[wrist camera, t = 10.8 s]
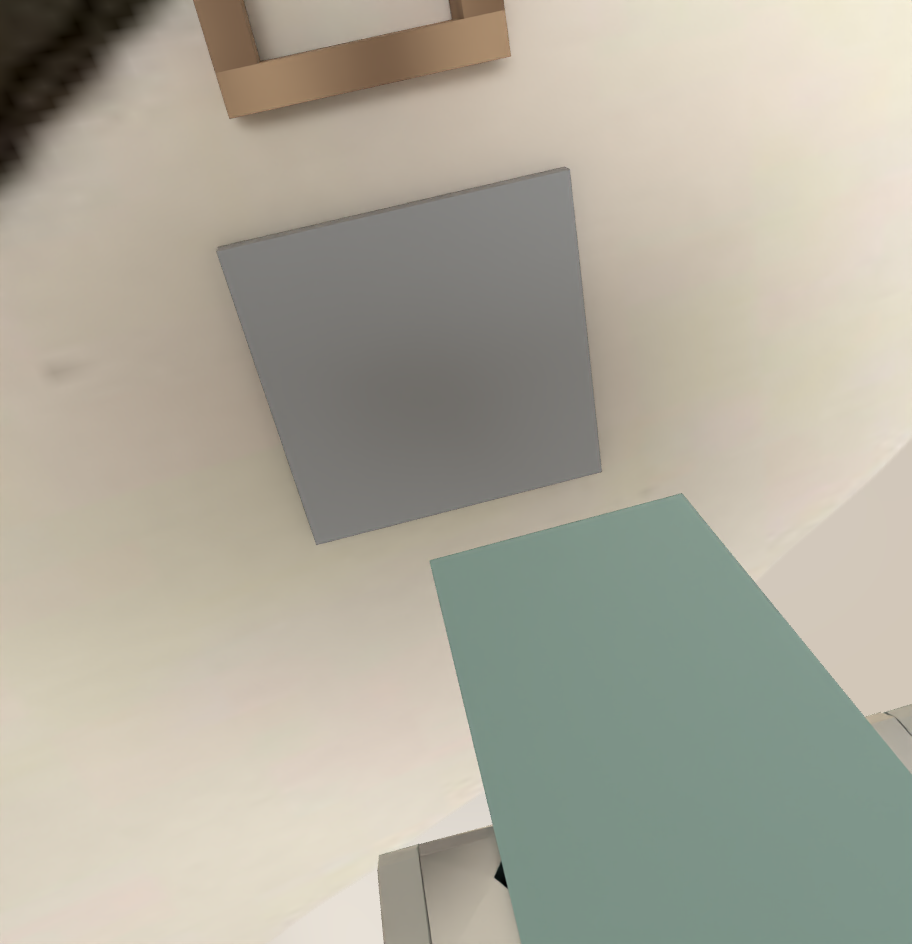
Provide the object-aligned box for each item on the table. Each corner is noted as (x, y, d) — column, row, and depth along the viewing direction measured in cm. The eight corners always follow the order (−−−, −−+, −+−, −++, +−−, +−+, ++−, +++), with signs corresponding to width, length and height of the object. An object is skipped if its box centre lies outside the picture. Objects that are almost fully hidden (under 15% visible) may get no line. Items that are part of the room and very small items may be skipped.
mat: (316, 536, 32) (316, 545, 32) (217, 247, 26) (216, 251, 26) (596, 465, 33) (601, 471, 33) (564, 166, 27) (569, 169, 27)
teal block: (476, 737, 14) (647, 1423, 7) (429, 560, 12) (602, 1278, 5) (692, 678, 14) (1061, 1289, 7) (682, 492, 12) (1177, 1100, 5)
